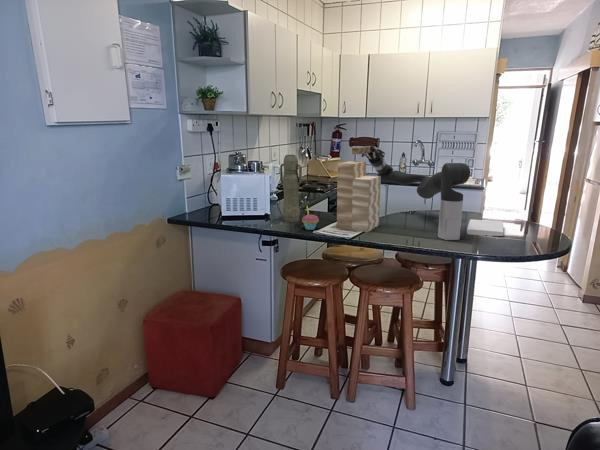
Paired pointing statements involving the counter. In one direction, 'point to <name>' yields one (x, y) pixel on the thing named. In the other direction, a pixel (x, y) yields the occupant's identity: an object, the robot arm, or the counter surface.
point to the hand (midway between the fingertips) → (367, 146)
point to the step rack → (357, 197)
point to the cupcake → (310, 221)
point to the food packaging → (485, 228)
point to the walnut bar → (361, 150)
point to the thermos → (291, 188)
